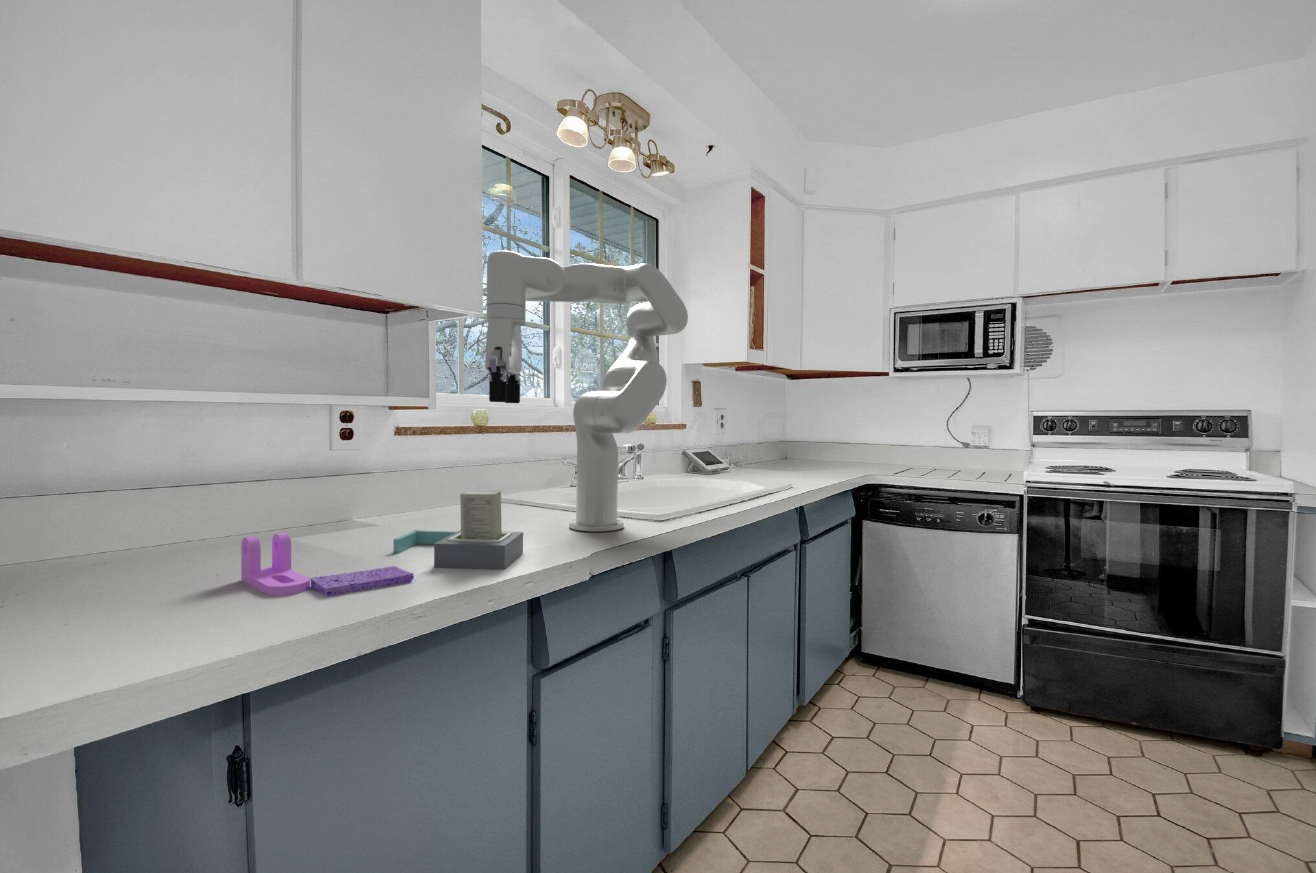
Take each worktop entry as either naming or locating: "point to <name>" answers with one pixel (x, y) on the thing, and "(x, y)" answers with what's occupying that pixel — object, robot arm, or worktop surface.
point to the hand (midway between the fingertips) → (505, 402)
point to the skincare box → (481, 515)
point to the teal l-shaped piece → (419, 539)
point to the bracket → (280, 574)
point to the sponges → (360, 580)
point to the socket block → (478, 551)
